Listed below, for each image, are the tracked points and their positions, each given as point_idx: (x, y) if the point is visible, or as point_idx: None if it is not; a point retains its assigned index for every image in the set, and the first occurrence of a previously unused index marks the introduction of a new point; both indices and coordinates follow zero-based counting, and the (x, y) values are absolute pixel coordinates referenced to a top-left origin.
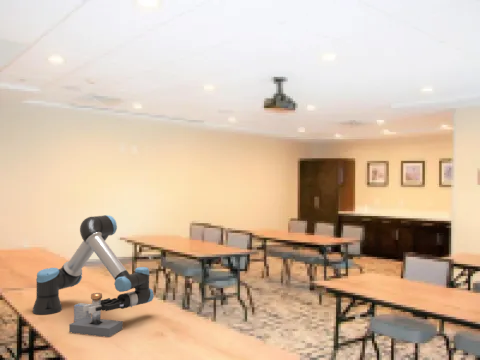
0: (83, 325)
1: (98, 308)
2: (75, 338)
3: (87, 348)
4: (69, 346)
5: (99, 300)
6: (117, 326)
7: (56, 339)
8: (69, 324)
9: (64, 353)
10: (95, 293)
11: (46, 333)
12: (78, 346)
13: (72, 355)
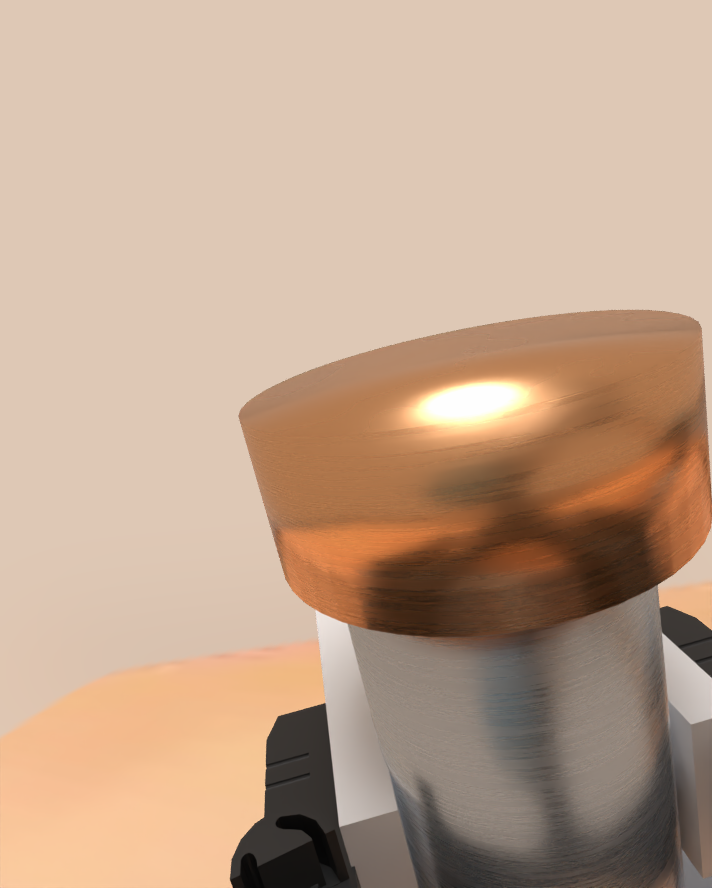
0: None
1: (271, 766)
2: None
3: (33, 823)
4: (226, 709)
5: (348, 625)
6: None
7: None
8: None
9: (134, 672)
10: (594, 331)
11: (695, 600)
12: (157, 766)
13: (49, 706)
